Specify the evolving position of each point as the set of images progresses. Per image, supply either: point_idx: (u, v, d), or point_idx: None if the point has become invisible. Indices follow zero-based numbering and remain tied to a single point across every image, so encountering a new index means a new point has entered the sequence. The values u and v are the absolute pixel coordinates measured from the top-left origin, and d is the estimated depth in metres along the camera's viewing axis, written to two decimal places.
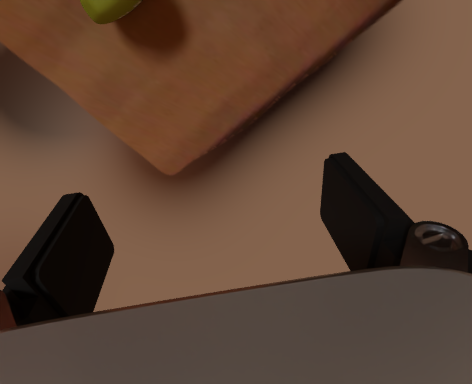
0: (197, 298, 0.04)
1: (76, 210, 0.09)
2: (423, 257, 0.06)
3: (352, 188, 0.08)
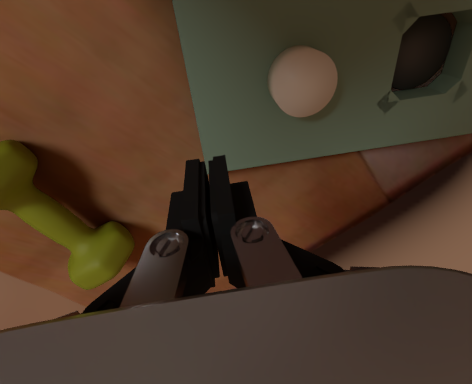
0: (197, 298, 0.04)
1: (204, 172, 0.10)
2: (254, 254, 0.07)
3: (210, 187, 0.09)
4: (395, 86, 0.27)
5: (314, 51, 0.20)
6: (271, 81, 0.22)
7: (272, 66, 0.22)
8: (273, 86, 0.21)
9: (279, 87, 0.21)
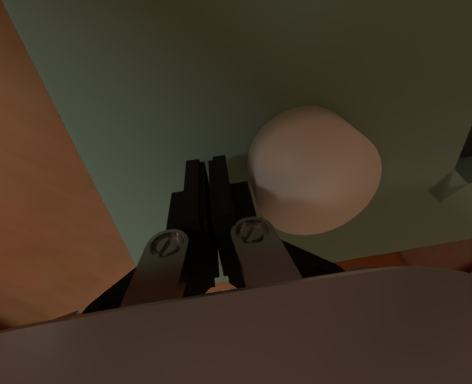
0: (197, 298, 0.04)
1: (204, 172, 0.10)
2: (254, 254, 0.07)
3: (210, 187, 0.09)
4: None
5: (338, 130, 0.09)
6: (252, 175, 0.11)
7: (254, 144, 0.12)
8: (255, 189, 0.11)
9: (266, 192, 0.11)
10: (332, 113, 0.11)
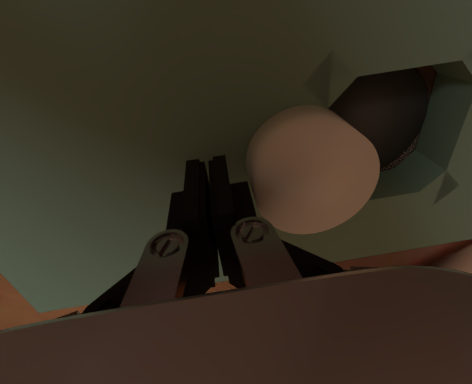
0: (197, 298, 0.04)
1: (204, 172, 0.10)
2: (254, 254, 0.07)
3: (210, 187, 0.09)
4: None
5: (336, 129, 0.10)
6: (250, 174, 0.11)
7: (253, 144, 0.12)
8: (253, 188, 0.11)
9: (265, 192, 0.11)
10: (330, 112, 0.11)
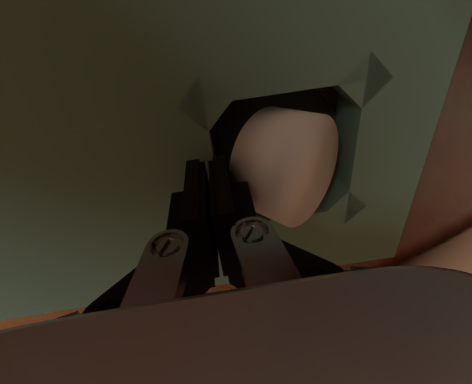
0: (197, 298, 0.04)
1: (204, 172, 0.10)
2: (254, 254, 0.07)
3: (210, 188, 0.09)
4: None
5: (321, 116, 0.11)
6: (255, 182, 0.11)
7: (241, 153, 0.11)
8: (271, 192, 0.10)
9: (283, 191, 0.11)
10: None
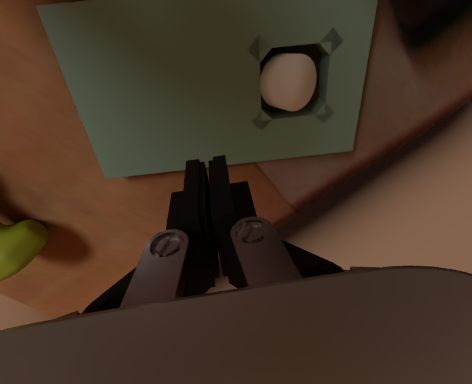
0: (197, 298, 0.04)
1: (204, 172, 0.10)
2: (254, 254, 0.07)
3: (210, 187, 0.09)
4: None
5: (303, 55, 0.25)
6: (269, 80, 0.25)
7: (266, 69, 0.25)
8: (275, 83, 0.25)
9: (280, 84, 0.25)
10: None
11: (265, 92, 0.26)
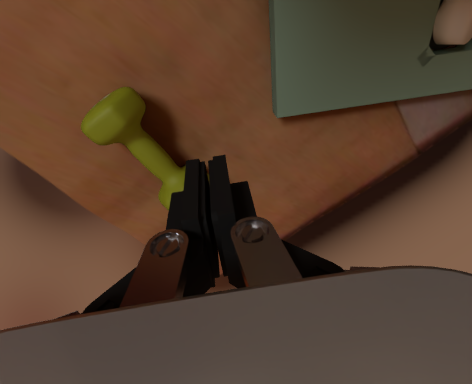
0: (197, 298, 0.04)
1: (204, 172, 0.10)
2: (254, 254, 0.07)
3: (210, 187, 0.09)
4: (430, 46, 0.34)
5: None
6: (451, 14, 0.29)
7: (445, 5, 0.29)
8: (459, 16, 0.28)
9: (464, 16, 0.28)
10: None
11: (441, 27, 0.30)
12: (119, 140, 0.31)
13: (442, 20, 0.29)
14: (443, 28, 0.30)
